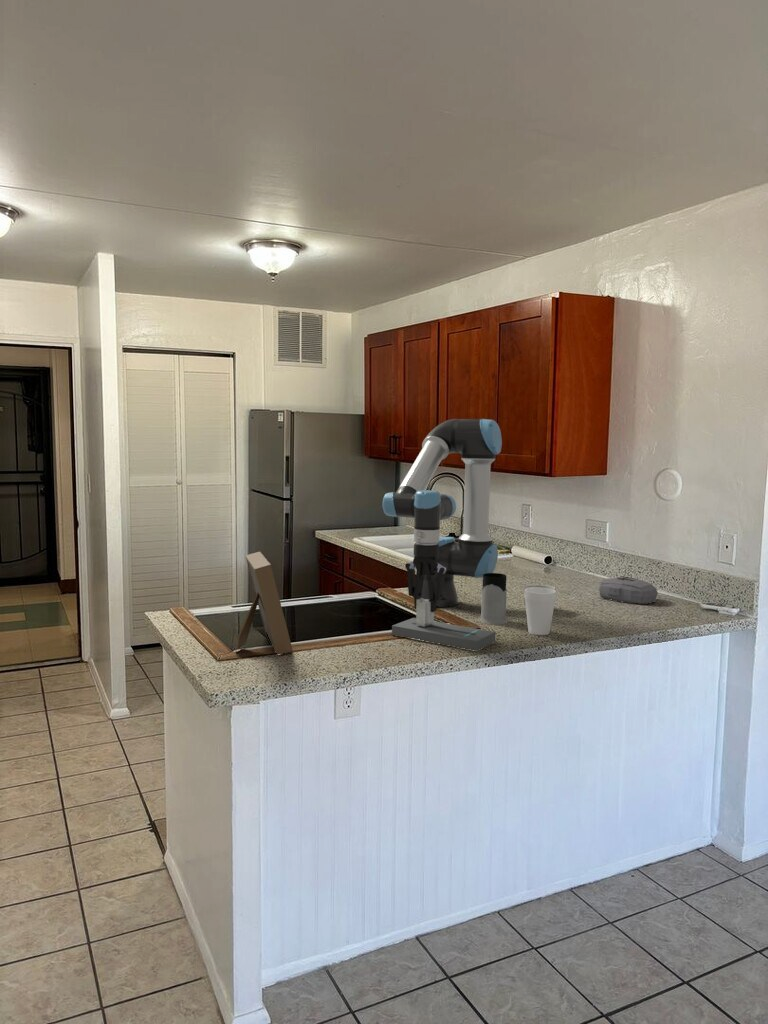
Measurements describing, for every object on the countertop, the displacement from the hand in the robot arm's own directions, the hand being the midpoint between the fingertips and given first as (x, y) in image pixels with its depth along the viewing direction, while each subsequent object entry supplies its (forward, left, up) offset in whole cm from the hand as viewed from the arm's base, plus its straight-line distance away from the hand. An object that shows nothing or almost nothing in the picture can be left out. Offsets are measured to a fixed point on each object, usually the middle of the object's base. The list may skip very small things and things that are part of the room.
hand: (425, 621), depth 229 cm
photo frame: (-32, -37, -5) cm, 49 cm away
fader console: (+6, 0, -4) cm, 8 cm away
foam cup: (+26, +24, -5) cm, 36 cm away
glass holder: (+8, +31, -5) cm, 32 cm away
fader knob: (0, 0, -1) cm, 1 cm away
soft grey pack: (+35, +88, -5) cm, 95 cm away
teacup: (+14, +53, -5) cm, 55 cm away
